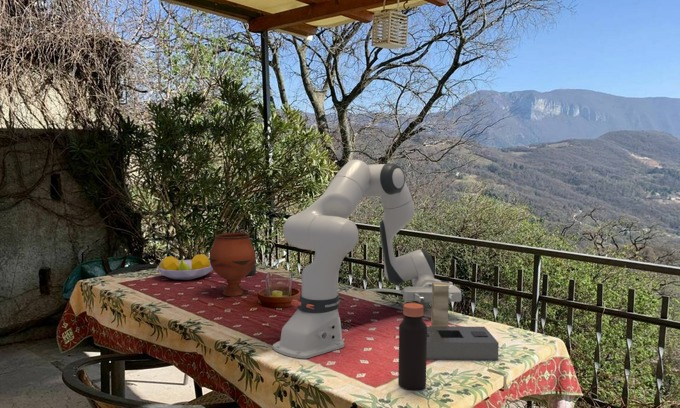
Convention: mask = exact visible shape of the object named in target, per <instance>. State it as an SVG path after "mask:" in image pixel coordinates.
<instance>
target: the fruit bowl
mask: <svg viewBox="0 0 680 408" xmlns="http://www.w3.org/2000/svg"><path fill="white" fill-rule="evenodd" d="M156 269H157V270H158V271H159V273H160V274H161V275H162V276H164V277H167V278H168V279H171V280H179V281H180V280H181V281H182V280H184V281H191V280H195V279H197V278H201V277H203V276H206V275H208V274H209V273H210V272H213V271H214V270H213V268H212V267H211V264H210V258H208V256H207V255H206V254H204V253H203V254H201V253H200V254H195V255H194V256H193V258H192V259H180V260H179V259H178V258H176V257H175V256H173V255H170V256H165V257H164V258H162V259H161V260H160V263H159V265H157V266H156Z"/></svg>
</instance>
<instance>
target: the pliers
mask: <svg viewBox="0 0 680 408" xmlns="http://www.w3.org/2000/svg"><path fill="white" fill-rule="evenodd" d="M344 300H345V301H344ZM342 301H344V302H348V299H347V298H345V297H343V296H340V295H339V303H342Z"/></svg>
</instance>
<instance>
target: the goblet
mask: <svg viewBox="0 0 680 408" xmlns="http://www.w3.org/2000/svg"><path fill="white" fill-rule="evenodd" d="M214 237H215V238H214V241H213V244H212V246H211V250H210V253H209V261H210V264H211V267H212V268H213V271H214V272H215V273H216V274H217V276H219V277H220V278H223V279H224V280H226V284H227V286H226V287H225V288H224V289H223V292H222V295H224V296H225V297H236V296H237V297H238V296H241V295H243V294H244V289H243V288H242V287H241V286H240V283H242V279H244V278H246V277H245V276H246V275H248V274H249V272H250V271H251V270H252V269H253V267H254V265H255V262H256V263H257V256H256V252H255V248H254V246H253V244H252V241H251V239H250V238H251V235H250V234H249V233H245V232H226V233H219V234H217V235H215V236H214Z"/></svg>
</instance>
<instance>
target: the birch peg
mask: <svg viewBox="0 0 680 408" xmlns="http://www.w3.org/2000/svg"><path fill="white" fill-rule="evenodd" d="M448 296H449V286H448V284H447V283H437V282H432V303H431V314H430V315H431V317H430V318H431V319H430V321H431V322H430V326H449V303H448Z"/></svg>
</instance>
